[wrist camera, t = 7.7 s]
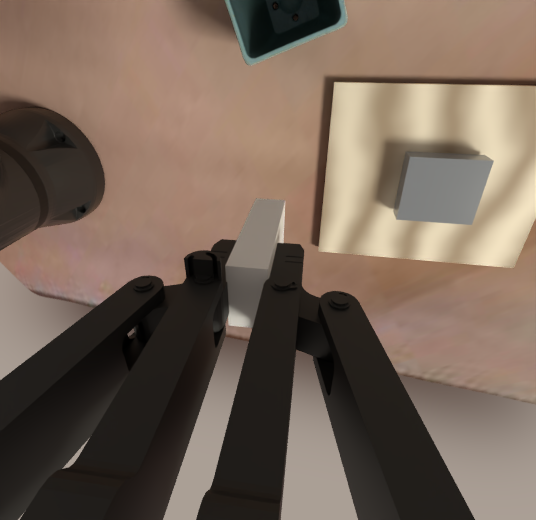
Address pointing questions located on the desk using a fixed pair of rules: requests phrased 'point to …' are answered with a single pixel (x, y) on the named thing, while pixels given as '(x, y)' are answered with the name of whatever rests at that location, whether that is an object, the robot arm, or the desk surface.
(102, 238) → the desk surface
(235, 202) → the desk surface
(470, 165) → the tile
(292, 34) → the flower pot
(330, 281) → the desk surface
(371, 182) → the board
